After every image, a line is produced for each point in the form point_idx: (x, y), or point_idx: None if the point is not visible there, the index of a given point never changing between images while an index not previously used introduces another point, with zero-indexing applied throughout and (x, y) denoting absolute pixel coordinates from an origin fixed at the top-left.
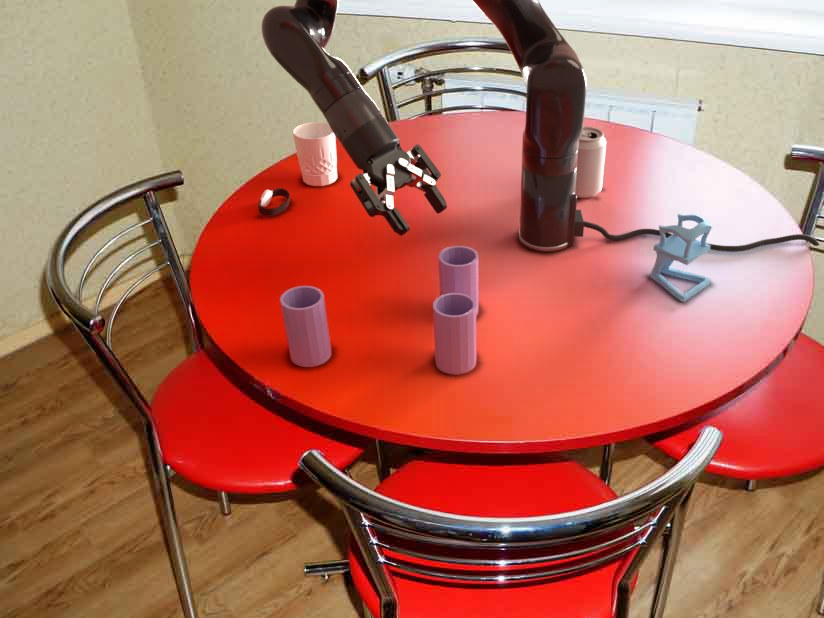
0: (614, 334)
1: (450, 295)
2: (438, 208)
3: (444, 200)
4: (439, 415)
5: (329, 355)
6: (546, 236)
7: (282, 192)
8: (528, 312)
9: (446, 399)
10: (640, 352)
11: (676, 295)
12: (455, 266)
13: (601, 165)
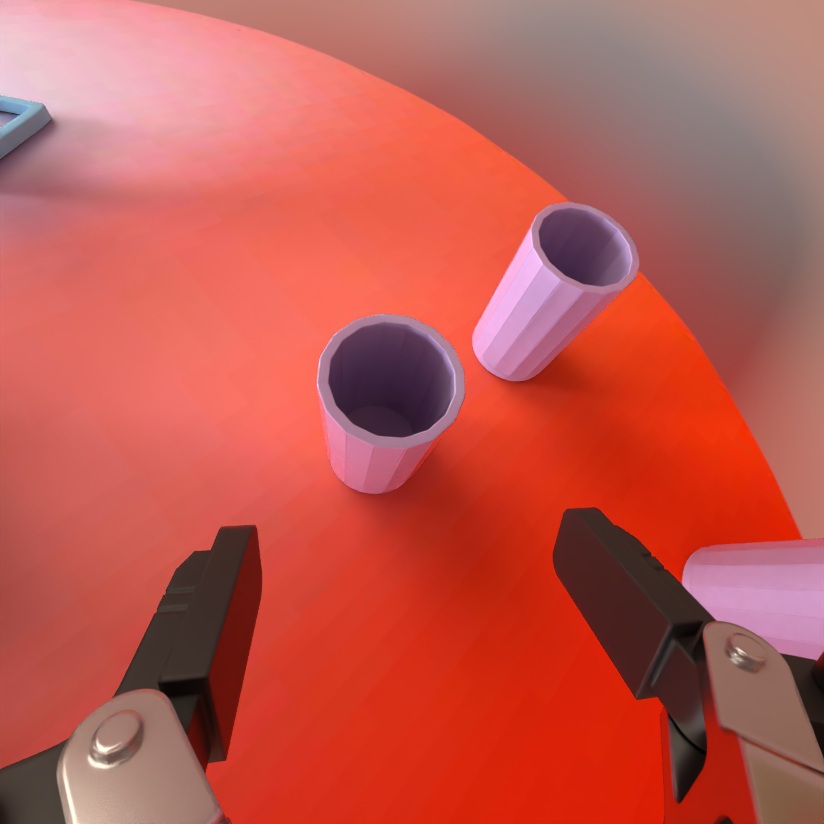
0: (243, 176)
1: (564, 276)
2: (256, 575)
3: (185, 570)
4: None
5: (702, 549)
6: None
7: None
8: (277, 325)
9: None
10: (268, 132)
11: (37, 122)
12: (451, 346)
13: None
